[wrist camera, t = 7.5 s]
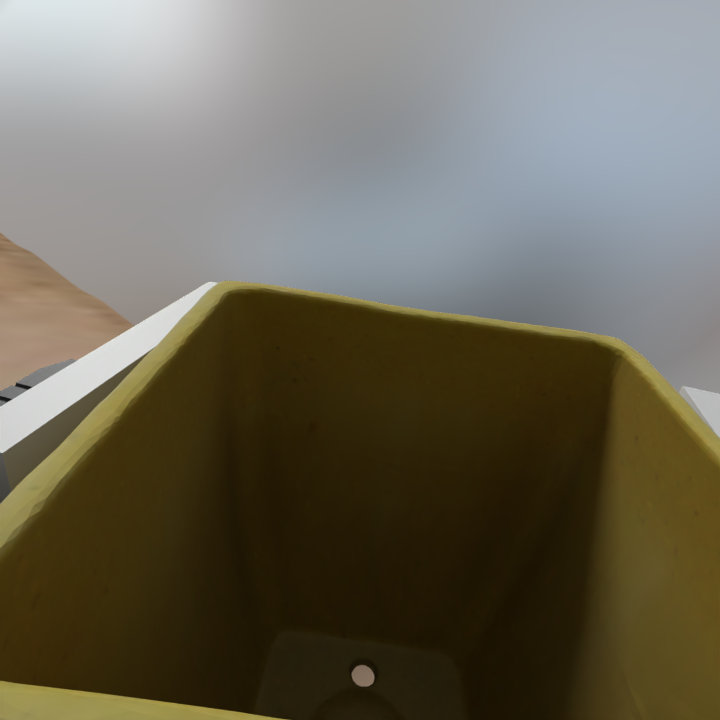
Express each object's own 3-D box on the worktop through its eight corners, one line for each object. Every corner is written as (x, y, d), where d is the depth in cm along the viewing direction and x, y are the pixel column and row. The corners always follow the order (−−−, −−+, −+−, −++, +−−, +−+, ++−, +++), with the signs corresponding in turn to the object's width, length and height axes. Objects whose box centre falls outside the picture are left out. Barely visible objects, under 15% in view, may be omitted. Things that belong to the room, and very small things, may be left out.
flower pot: (15, 1067, 7) (-232, 700, 3) (214, 564, 15) (219, 269, 11) (630, 1159, 7) (1200, 921, 3) (510, 610, 15) (627, 335, 11)
